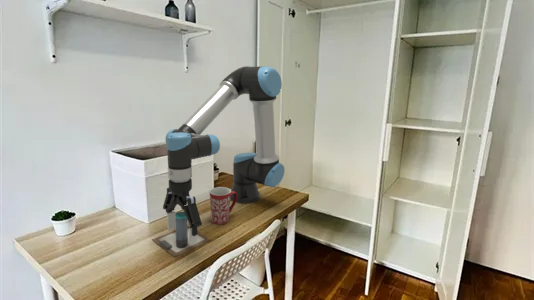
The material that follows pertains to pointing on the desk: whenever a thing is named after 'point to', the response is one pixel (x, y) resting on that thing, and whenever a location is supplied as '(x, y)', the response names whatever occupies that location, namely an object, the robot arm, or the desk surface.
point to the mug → (221, 204)
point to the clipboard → (170, 243)
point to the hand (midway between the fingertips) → (181, 235)
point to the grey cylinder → (181, 230)
